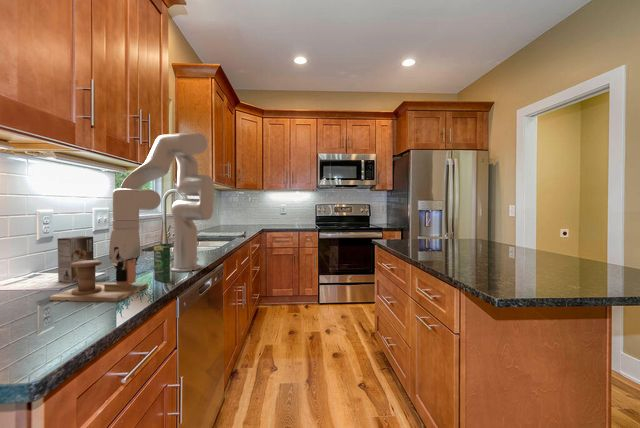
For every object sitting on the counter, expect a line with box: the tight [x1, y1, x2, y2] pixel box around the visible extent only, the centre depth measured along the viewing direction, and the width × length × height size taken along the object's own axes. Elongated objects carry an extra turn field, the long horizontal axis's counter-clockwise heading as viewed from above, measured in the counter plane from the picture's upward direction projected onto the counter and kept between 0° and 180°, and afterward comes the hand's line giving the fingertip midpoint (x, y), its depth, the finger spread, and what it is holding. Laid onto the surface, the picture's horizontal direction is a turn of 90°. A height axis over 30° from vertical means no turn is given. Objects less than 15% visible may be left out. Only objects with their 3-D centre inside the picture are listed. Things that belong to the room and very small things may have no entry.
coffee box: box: [57, 235, 95, 283], centre depth 119 cm, size 9×6×16 cm
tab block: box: [115, 258, 137, 284], centre depth 106 cm, size 4×4×8 cm
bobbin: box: [71, 259, 103, 295], centre depth 99 cm, size 8×8×9 cm
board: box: [49, 281, 149, 303], centre depth 102 cm, size 17×20×3 cm
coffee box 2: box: [153, 245, 171, 283], centre depth 120 cm, size 8×3×13 cm, turn 51°
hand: (126, 278), depth 106 cm, fingers open, 4 cm apart
